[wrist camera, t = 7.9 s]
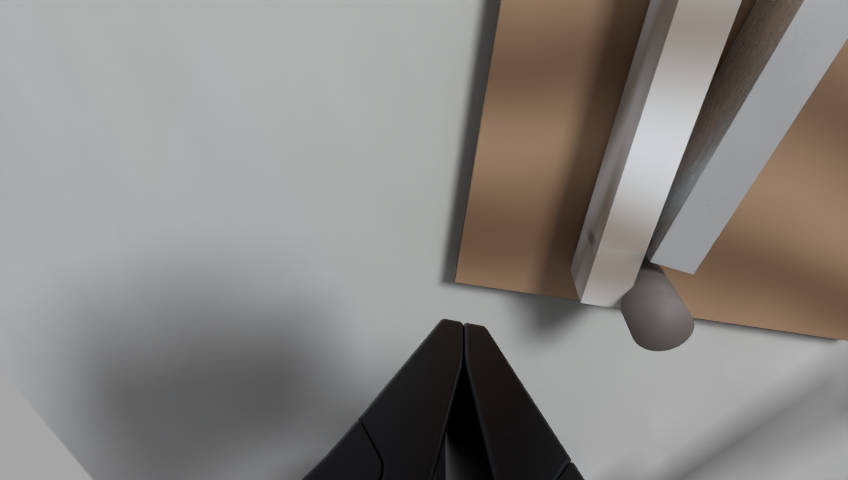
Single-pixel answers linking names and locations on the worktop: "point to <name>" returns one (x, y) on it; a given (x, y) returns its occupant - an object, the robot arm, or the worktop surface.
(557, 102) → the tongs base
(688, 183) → the hinged jaw
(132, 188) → the worktop surface
